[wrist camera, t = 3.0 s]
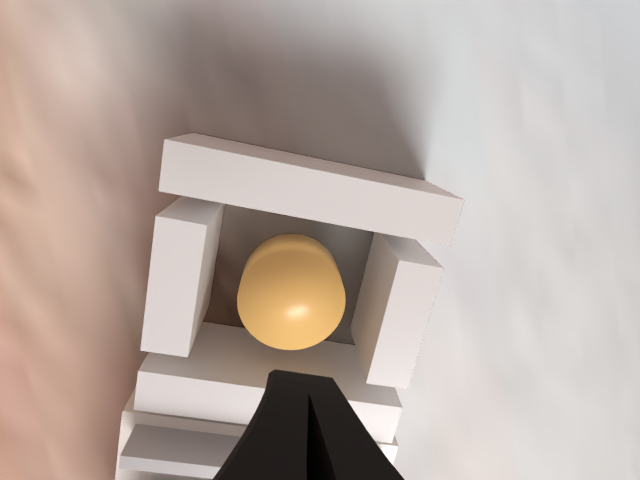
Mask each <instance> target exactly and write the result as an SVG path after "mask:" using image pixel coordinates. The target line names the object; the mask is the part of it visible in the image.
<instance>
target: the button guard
mask: <svg viewBox="0 0 640 480" xmlns="http://www.w3.org/2000/svg"><path fill="white" fill-rule="evenodd" d="M158 191H161V192H166V193H171V194H177V195H182V196H181V197H179V198H178V199H177V200H175V201H174V202H173V203H172V204H170V205H169V206H168V207H166V208H165V209H164V210H163V211H161V212H160V213H159V214H157V215H156V216H155V225H154V234H153V243H152V252H151V260H150V269H149V278H148V287H147V296H146V305H145V313H144V322H143V331H142V340H141V349H140V351H146V352H149V353H148V355H147V356H146V358H145V360H144V361H143V363H142V365H141V367H140V368H139V370H138V375H137V384H136V393H135V401H134V410H138V411H145V412H153V413H161V414H169V415H176V416H184V417H192V418H200V419H207V420H215V421H223V422H231V423H238V424H246V425H248V424H249V422H250V420H251V419H252V417H253V415H254V413H255V411H256V409H257V407H258V405H259V403H260V401H261V399H262V396H263V394H264V391H265V388H266V383H267V378H268V373H270V372H271V371H273V370H275V369H277V370H284V371H291V372H298V373H304V374H311V375H318V376H325V377H332V378H333V379H334V381H335V382H336V384H337V385H338V387H339V388H340V390H341V391H342V393H343V394H344V396H345V397H346V399H347V400H348V402H349V404H350V405H351V407H352V408H353V410H354V411H355V413H356V414H357V416H358V417H359V419H360V420H361V422H362V423H363V425H364V426H365V428H366V429H367V431H368V432H369V434H370V435H371V436H372V438H373V439H374V441H378V442H386V443H392V441H393V438H394V435H395V431H396V428H397V425H398V421H399V418H400V415H401V411H402V405H401V403H400V400H399V397H398V395H397V392H396V390H395V388H402V389H408V388H409V384H410V381H411V378H412V374H413V371H414V368H415V364H416V361H417V358H418V354H419V351H420V348H421V344H422V341H423V338H424V334H425V331H426V328H427V324H428V321H429V318H430V314H431V311H432V308H433V304H434V301H435V298H436V294H437V291H438V288H439V284H440V281H441V277H442V274H443V271H444V268H443V267H442V266H441V265H440V264H439V263H438V262H437V261H436V260H435V259H434V258H433V257H432V256H431V255H430V254H429V253H428V252H427V251H426V250H425V249H424V248H423V247H422V246H421V245H420V244H419V243H418V242H417V241H416V240H421V241H426V242H431V243H437V244H442V245H447V246H451V244H452V241H453V237H454V234H455V231H456V227H457V224H458V221H459V217H460V214H461V211H462V207H463V204H464V201H465V200H464V199H462V198H460V197H458V196H456V195H454V194H452V193H450V192H448V191H446V190H444V189H442V188H440V187H438V186H436V185H434V184H432V183H430V182H427V181H425V180H420V179H415V178H411V177H406V176H401V175H396V174H391V173H386V172H381V171H377V170H372V169H367V168H362V167H357V166H352V165H347V164H343V163H338V162H333V161H328V160H323V159H318V158H313V157H309V156H304V155H299V154H294V153H289V152H284V151H279V150H275V149H270V148H265V147H260V146H255V145H250V144H246V143H241V142H236V141H231V140H226V139H221V138H216V137H212V136H207V135H202V134H197V133H191V134H186V135H181V136H176V137H172V138H167V139H164V146H163V155H162V164H161V172H160V181H159V190H158ZM225 204H230V205H235V206H240V207H246V208H251V209H256V210H261V211H267V212H272V213H277V214H283V215H288V216H293V217H299V218H304V219H309V220H315V221H320V222H325V223H330V224H336V225H341V226H346V227H352V228H357V229H362V230H368V231H373V232H374V236H373V240H372V244H371V248H370V252H369V256H368V260H367V264H366V268H365V272H364V276H363V280H362V284H361V288H360V292H359V296H358V300H357V304H356V308H355V312H354V316H353V320H352V324H351V328H350V329H351V332H352V336H353V339H354V343H355V345H351V344H344V343H338V342H331V341H325V340H323V341H321V342H319V343H318V344H316V345H313V346H311V347H308V348H304V349H299V350H282V349H277V348H273V347H270V346H268V345H266V344H264V343H262V342H260V341H259V340H257V339H256V338H255V337H254V336H252V335H251V334H250V332H249V331H248V330H247V329H246V328H241V327H235V326H228V325H222V324H216V323H209V322H203V319H204V317H205V314H206V312H207V310H208V307H209V303H210V296H211V290H212V284H213V277H214V271H215V264H216V258H217V251H218V245H219V238H220V232H221V225H222V219H223V212H224V206H225Z"/></svg>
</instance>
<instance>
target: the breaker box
mask: <svg viewBox="0 0 640 480" xmlns="http://www.w3.org/2000/svg"><path fill="white" fill-rule="evenodd" d="M135 393H136V387H135V389H134V391H133V392H132V394H131V396H130V398H129V400H128V401H127V403H126V405H125V407H124V409H123V410H122V417H121V427H120V436H119V445H118V455H117V464H116V474H115V480H212V479H213V478H214V476H215V475H216V474H217V472H218V471H219V470H220V468H221V467H222V465H223V464H224V462H225V461H226V459H227V458H228V456H229V455H230V453H231V452H232V450H233V449H234V447H235V446H236V444H237V443H238V441H239V439H240V438H241V436H242V435H243V433H244V431H245V430H246V428H247V426H248V425H246V424H238V423H231V422H223V421H215V420H207V419H200V418H192V417H184V416H176V415H169V414H161V413H153V412H145V411H138V410H134V401H135ZM375 442H376V443H377V445H378V446H379V448H380V449H381V450H382V452H383V453H384V454H385V456H386V457H387V458H388V460H389V461H390V462H391V464H392V465H393V462H394V459H395V456H396V453H397V449H398V444H397V441H396V438H395V435H394V438H393V441H392V443H386V442H378V441H375Z"/></svg>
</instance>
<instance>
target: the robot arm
mask: <svg viewBox="0 0 640 480" xmlns="http://www.w3.org/2000/svg"><path fill="white" fill-rule="evenodd" d="M212 480H404V479H403V477H402V476H401V475H400V474H399V472H398V471H397V470H396V469H395V467H394V466H393V465H392V464H391V462H390V461H389V460H388V458H387V457H386V456H385V454H384V453H383V452H382V450H381V449H380V448H379V446H378V445H377V443H376V442H375V441H374V439H373V438H372V436H371V435H370V434H369V432H368V431H367V429H366V428H365V426H364V425H363V423H362V422H361V420H360V419H359V417H358V416H357V414H356V413H355V411H354V410H353V408H352V407H351V405H350V404H349V402H348V400H347V399H346V397H345V396H344V394H343V393H342V391H341V390H340V388H339V387H338V385H337V384H336V382H335V381H334V379H333V378H332V377H325V376H318V375H311V374H304V373H298V372H291V371H284V370H277V369H275V370H273V371H271V372H270V373H268V378H267V383H266V388H265V391H264V394H263V396H262V399H261V401H260V403H259V405H258V407H257V409H256V411H255V413H254V415H253V417H252V419H251V420H250V422H249V424H248V426H247V428H246V430H245V431H244V433H243V435H242V436H241V438H240V439H239V441H238V443H237V444H236V446H235V447H234V449H233V450H232V452H231V453H230V455H229V456H228V458H227V459H226V461H225V462H224V464H223V465H222V467H221V468H220V470H219V471H218V472H217V474H216V475H215V476H214V478H213V479H212Z"/></svg>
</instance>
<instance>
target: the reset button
mask: <svg viewBox="0 0 640 480" xmlns="http://www.w3.org/2000/svg"><path fill="white" fill-rule="evenodd" d="M345 299H346V297H345V290H344V286H343V283H342V280H341V276H340V273H339V270H338V267H337V264H336V262H335V259H334V258H333V256H332V254H331V253H330V252H329V250H328V249H327V248H326V247H325V246H324V245H322V244H321V243H320V242H318V241H316V240H315V239H313V238H310V237H308V236H304V235H300V234H283V235H279V236H275V237H272V238H270V239H268V240H266V241H264V242H263V243H262V244H260V245H259V246H258V247H257V248H256V249H255V250H254V251H253V252H252V254H251V255H250V257H249V258H248V260H247V262H246V265H245V268H244V271H243V275H242V278H241V282H240V285H239V289H238V294H237V307H238V313H239V316H240V318H241V321H242V323H243V324H244V326H245V327H246V329H247V330H248V331H249V332H250V334H251V335H252V336H254V337H255V338H256V339H257V340H259V341H260V342H262V343H264V344H266V345H268V346H270V347H273V348H277V349H282V350H299V349H304V348H308V347H311V346H313V345H316V344H318V343H319V342H321V341H323V340H324V339H326V338H327V337H328V336H329V335H330V334H331V333H332V332H333V331H334V330H335V329H336V327H337V326H338V324H339V323H340V320H341V318H342V316H343V313H344V309H345Z"/></svg>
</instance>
